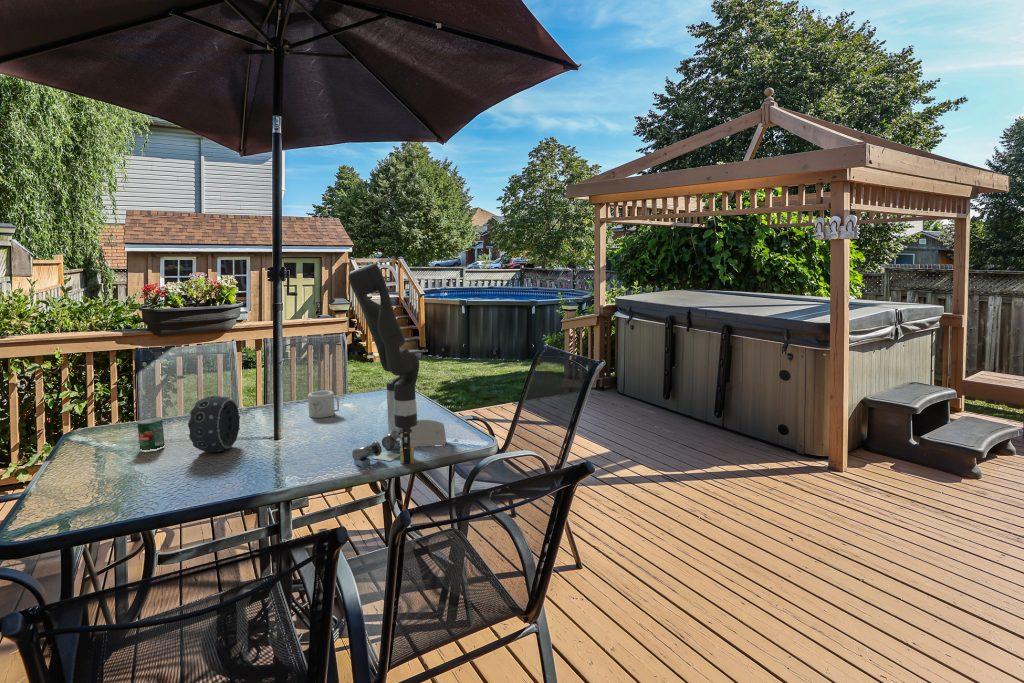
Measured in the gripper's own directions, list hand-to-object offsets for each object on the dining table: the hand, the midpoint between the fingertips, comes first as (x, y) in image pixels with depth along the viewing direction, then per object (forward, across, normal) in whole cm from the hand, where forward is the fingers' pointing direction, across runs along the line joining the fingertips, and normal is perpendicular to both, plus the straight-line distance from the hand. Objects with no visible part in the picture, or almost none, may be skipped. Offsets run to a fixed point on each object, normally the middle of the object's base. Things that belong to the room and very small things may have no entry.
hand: (407, 460), depth 202 cm
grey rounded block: (+1, -18, +6) cm, 19 cm away
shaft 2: (0, -14, -6) cm, 15 cm away
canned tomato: (+1, -29, -93) cm, 97 cm away
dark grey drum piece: (+1, -23, -68) cm, 72 cm away
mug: (+1, -65, -37) cm, 75 cm away
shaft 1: (0, 0, -14) cm, 14 cm away
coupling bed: (0, -5, -7) cm, 9 cm away
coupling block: (0, 0, 0) cm, 0 cm away
